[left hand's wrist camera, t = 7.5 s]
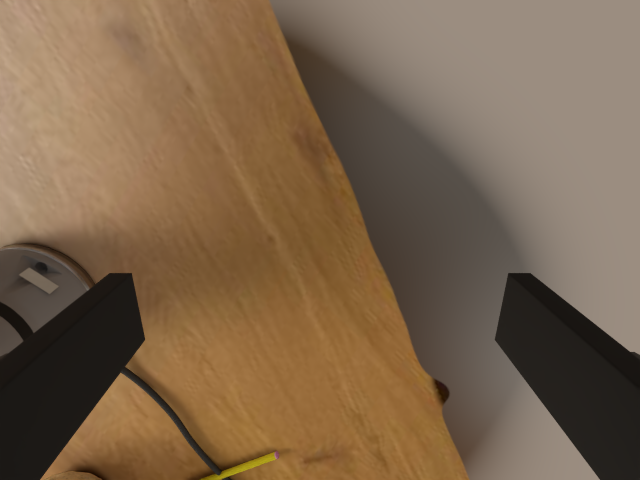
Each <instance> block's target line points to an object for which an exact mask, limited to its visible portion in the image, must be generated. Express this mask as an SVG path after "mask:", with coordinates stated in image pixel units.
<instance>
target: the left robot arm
mask: <svg viewBox="0 0 640 480" xmlns="http://www.w3.org/2000/svg"><path fill="white" fill-rule="evenodd" d="M144 341H145V337H144V332H143V327H142V322H141V317H140V312H139V307H138V302H137V297H136V292H135V287H134V283H133V278H132V273H109V274H108V275H107V276H105V277H104V278H103V279H102V280H100V281H99V282H98V283H97V284H94V282H93V281H92V279H91V278H90V276H89V275H88V274H87V273H86V272H85V271H84V270H83V269H82V268H81V267H80V266H79V265H78V264H77V263H75V262H74V261H73V260H71V259H70V258H68V257H67V256H65V255H63V254H61V253H60V252H57V251H55V250H53V249H50V248H47V247H44V246H40V245H34V244H14V245H9V246H5V247H3V248H0V480H40V479H41V478H42V476H43V475H44V474H45V472H46V471H47V470H48V468H49V467H50V466H51V464H52V463H53V462H54V460H55V459H56V458H57V456H58V455H59V454H60V452H61V451H62V450H63V448H64V447H65V446H66V444H67V443H68V442H69V440H70V439H71V438H72V436H73V435H74V434H75V432H76V431H77V430H78V428H79V427H80V426H81V424H82V423H83V422H84V420H85V419H86V418H87V416H88V415H89V414H90V412H91V411H92V410H93V408H94V407H95V406H96V404H97V403H98V402H99V400H100V399H101V398H102V396H103V395H104V394H105V392H106V391H107V390H108V388H109V387H110V386H111V384H112V383H113V382H114V380H115V379H116V378H117V376H118V375H119V374H120V372H121V373H122V374H124V375H125V376H127V377H128V378H129V379H131V380H132V381H133V382H135V383H136V384H137V385H138V386H140V387H141V388H142V389H143V390H144V391H146V392H147V393H148V394H149V395H150V396H151V397H152V398H153V399H154V400H155V401H156V402H157V403H158V404H159V405H160V406H161V407H162V408H163V409H164V410H165V412H166V413H167V414H168V415H169V416H170V417H171V419H172V420H173V421H174V423H175V424H176V425H177V427H178V428H179V430H180V431H181V433H182V434H183V436H184V437H185V439H186V440H187V441H188V443H189V444H190V445H191V447H192V448H193V449H194V450H195V451H196V453H197V454H198V455H199V456H200V457H201V458H202V460H203V461H204V462H205V463H206V464H207V465H208V466H209V467H210V468H211V469H212V470H213V471H214V472H215V473H216V474H217V475H218V476H219V475H220V474H221V472H222V471H221V470H220V469H219V468H218V467H217V466H216V465H215V464H214V463H213V462H212V461H211V459H210V458H209V457H208V456H207V455H206V454H205V453H204V451H203V450H202V449H201V448H200V447H199V446H198V444H197V443H196V442H195V441H194V439H193V438H192V437H191V435H190V434H189V432H188V431H187V429H186V428H185V426H184V425H183V423H182V422H181V420H180V419H179V418H178V416H177V415H176V414H175V412H174V411H173V410H172V409H171V408H170V406H169V405H168V404H167V403H166V402H165V401H164V400H163V399H162V398H161V397H160V396H159V395H158V394H157V393H156V392H155V391H154V390H153V389H152V388H151V387H150V386H149V385H148V384H146V383H145V382H144V381H143V380H142V379H140V378H139V377H138V376H137V375H135V374H134V373H133V372H131V371H130V370H128V369H127V368H125V366H126V364H127V363H128V362H129V360H130V359H131V358H132V356H133V355H134V354H135V353H136V351H137V350H138V349H139V347H140V346H141V345H142V343H143V342H144ZM495 341H496V342H497V343H498V345H499V346H500V347H501V349H502V350H503V351H504V353H505V354H506V355H507V356H508V358H509V359H510V360H511V362H512V363H513V364H514V366H515V367H516V368H517V370H518V371H519V372H520V374H521V375H522V376H523V378H524V379H525V380H526V382H527V383H528V384H529V386H530V387H531V388H532V390H533V391H534V392H535V394H536V395H537V396H538V398H539V399H540V400H541V402H542V403H543V404H544V406H545V407H546V408H547V410H548V411H549V412H550V414H551V415H552V416H553V418H554V419H555V420H556V422H557V423H558V424H559V426H560V427H561V428H562V430H563V431H564V432H565V434H566V435H567V436H568V438H569V439H570V440H571V442H572V443H573V444H574V446H575V447H576V448H577V450H578V451H579V452H580V453H581V455H582V456H583V458H584V459H585V460H586V462H587V463H588V464H589V466H590V467H591V468H592V470H593V471H594V472H595V474H596V475H597V476H598V477H599V479H600V480H640V355H639V354H637V353H635V352H629V351H628V350H627V349H626V348H624V347H623V346H622V345H621V344H619V343H618V342H617V341H616V340H614V339H613V338H612V337H611V336H609V335H608V334H607V333H605V332H604V331H603V330H602V329H600V328H599V327H598V326H597V325H595V324H594V323H593V322H592V321H590V320H589V319H588V318H586V317H585V316H584V315H583V314H581V313H580V312H579V311H578V310H576V309H575V308H574V307H573V306H571V305H570V304H569V303H567V302H566V301H565V300H564V299H562V298H561V297H560V296H559V295H557V294H556V293H555V292H553V291H552V290H551V289H550V288H548V287H547V286H546V285H545V284H543V283H542V282H541V281H540V280H538V279H537V278H536V277H534V276H533V275H532V274H531V273H508V278H507V283H506V287H505V292H504V297H503V302H502V307H501V312H500V317H499V322H498V327H497V332H496V337H495ZM222 480H231V479H230V478H229V477H225V478H223V479H222Z"/></svg>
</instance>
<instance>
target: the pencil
mask: <svg viewBox="0 0 640 480" xmlns="http://www.w3.org/2000/svg"><path fill="white" fill-rule="evenodd" d="M278 458H279V453H278V452H277V451H276V452H273V453H270V454H267V455H265V456H262V457H259V458H256V459H254V460H251V461H248V462H246V463H243V464H240V465H237V466H235V467H232V468H229V469H226V470H224V471H222V472H221V474H220V475H219V476H218V475H217V474H213V475H210V476H207V477H205V478H202V479H199V480H220V479H223V478H225V477H228V476H231V475H234V474H237V473H239V472H242V471H245V470H248V469H250V468H253V467H256V466H259V465H261V464H264V463H267V462H270V461H272V460H275V459H278Z"/></svg>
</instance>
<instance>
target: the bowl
mask: <svg viewBox="0 0 640 480" xmlns="http://www.w3.org/2000/svg"><path fill="white" fill-rule="evenodd" d="M45 480H102V479H101V478H98V477H97V476H95V475H93V474H91V473H85V472H75V471H68V472H63V473H60V474H57V475H54V476H51V477H49V478H47V479H45Z"/></svg>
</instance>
